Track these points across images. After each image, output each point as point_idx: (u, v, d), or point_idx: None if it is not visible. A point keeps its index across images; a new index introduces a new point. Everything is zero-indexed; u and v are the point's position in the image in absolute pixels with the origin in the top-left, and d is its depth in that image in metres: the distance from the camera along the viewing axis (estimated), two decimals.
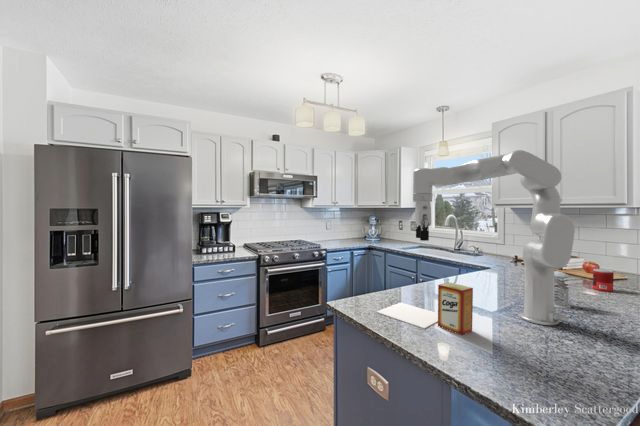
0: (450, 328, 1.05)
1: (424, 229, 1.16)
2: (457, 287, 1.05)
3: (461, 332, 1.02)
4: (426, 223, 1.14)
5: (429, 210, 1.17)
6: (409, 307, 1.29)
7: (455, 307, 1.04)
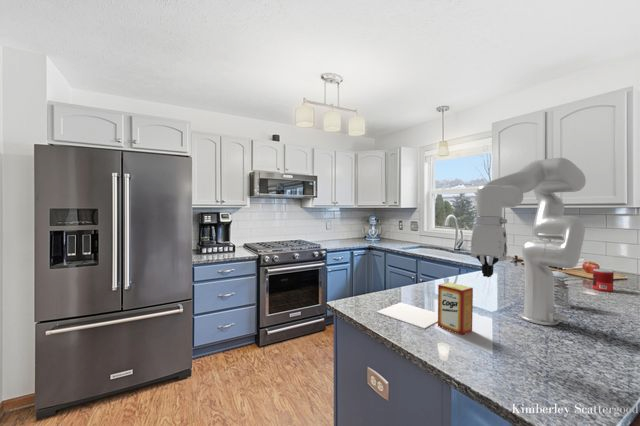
0: (450, 328, 1.05)
1: (493, 263, 0.97)
2: (457, 287, 1.05)
3: (461, 332, 1.02)
4: (501, 260, 0.95)
5: (506, 237, 0.96)
6: (409, 307, 1.29)
7: (455, 307, 1.04)
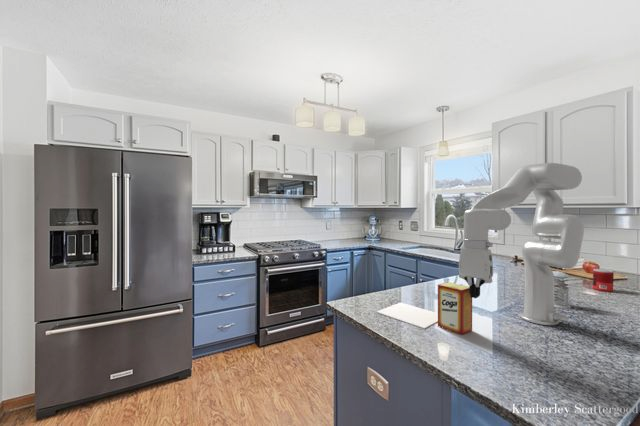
0: (450, 328, 1.05)
1: (480, 285, 1.00)
2: (456, 287, 1.05)
3: (461, 332, 1.02)
4: (488, 282, 0.99)
5: (492, 260, 0.99)
6: (409, 307, 1.29)
7: (454, 307, 1.04)
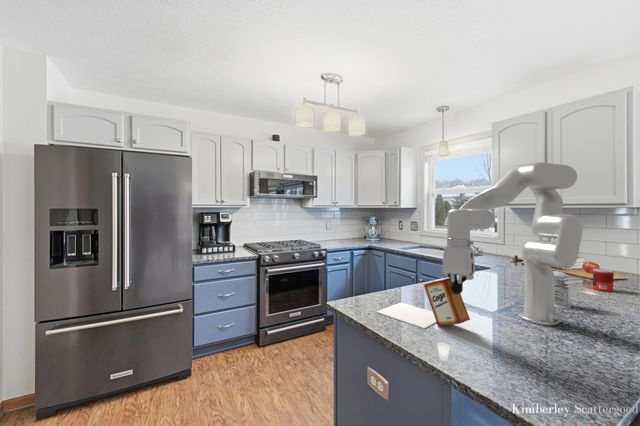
0: (448, 322, 1.06)
1: (462, 282, 1.05)
2: None
3: (458, 320, 1.03)
4: (469, 279, 1.03)
5: None
6: (409, 307, 1.29)
7: (444, 298, 1.07)
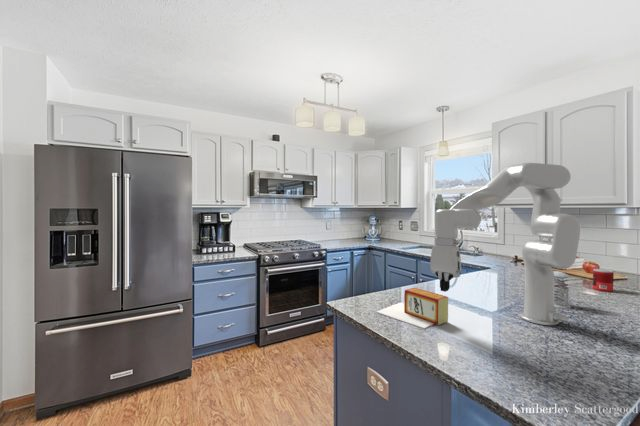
0: (436, 310, 1.10)
1: (449, 279, 1.08)
2: None
3: (436, 300, 1.10)
4: None
5: None
6: None
7: (417, 300, 1.17)
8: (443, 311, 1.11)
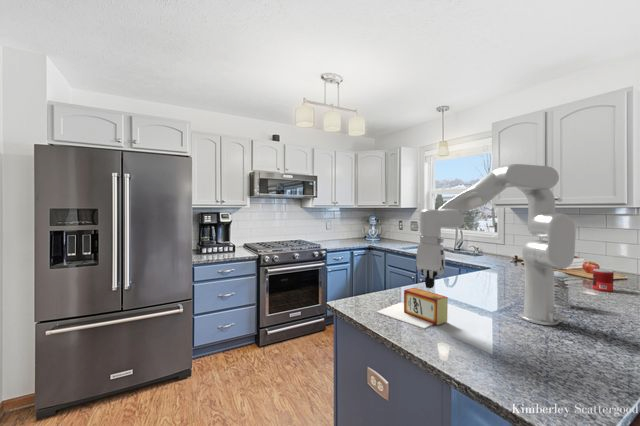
0: (435, 311, 1.10)
1: (434, 276, 1.13)
2: None
3: (435, 300, 1.10)
4: (440, 274, 1.12)
5: None
6: None
7: (417, 300, 1.17)
8: (442, 312, 1.11)
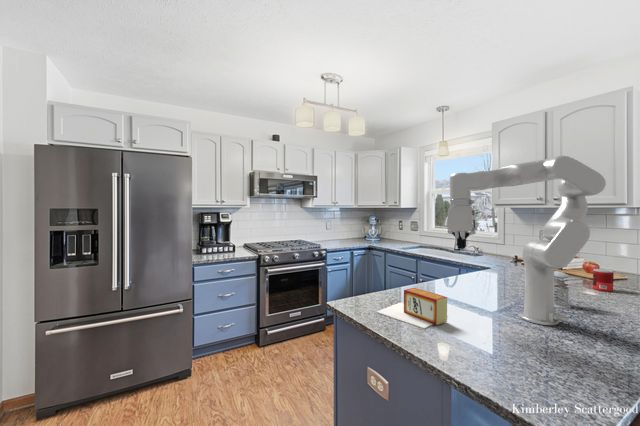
0: (434, 311, 1.10)
1: (466, 237, 1.17)
2: None
3: (434, 300, 1.10)
4: (472, 234, 1.16)
5: None
6: None
7: (416, 300, 1.17)
8: (441, 312, 1.11)
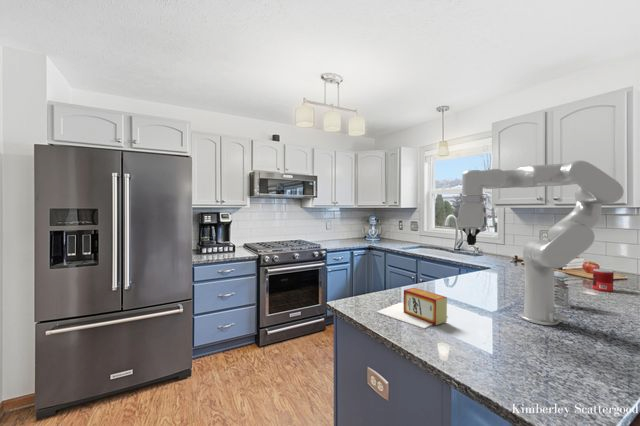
0: (433, 311, 1.10)
1: (476, 234, 1.19)
2: None
3: (434, 300, 1.10)
4: None
5: None
6: None
7: (416, 300, 1.17)
8: (441, 312, 1.11)
